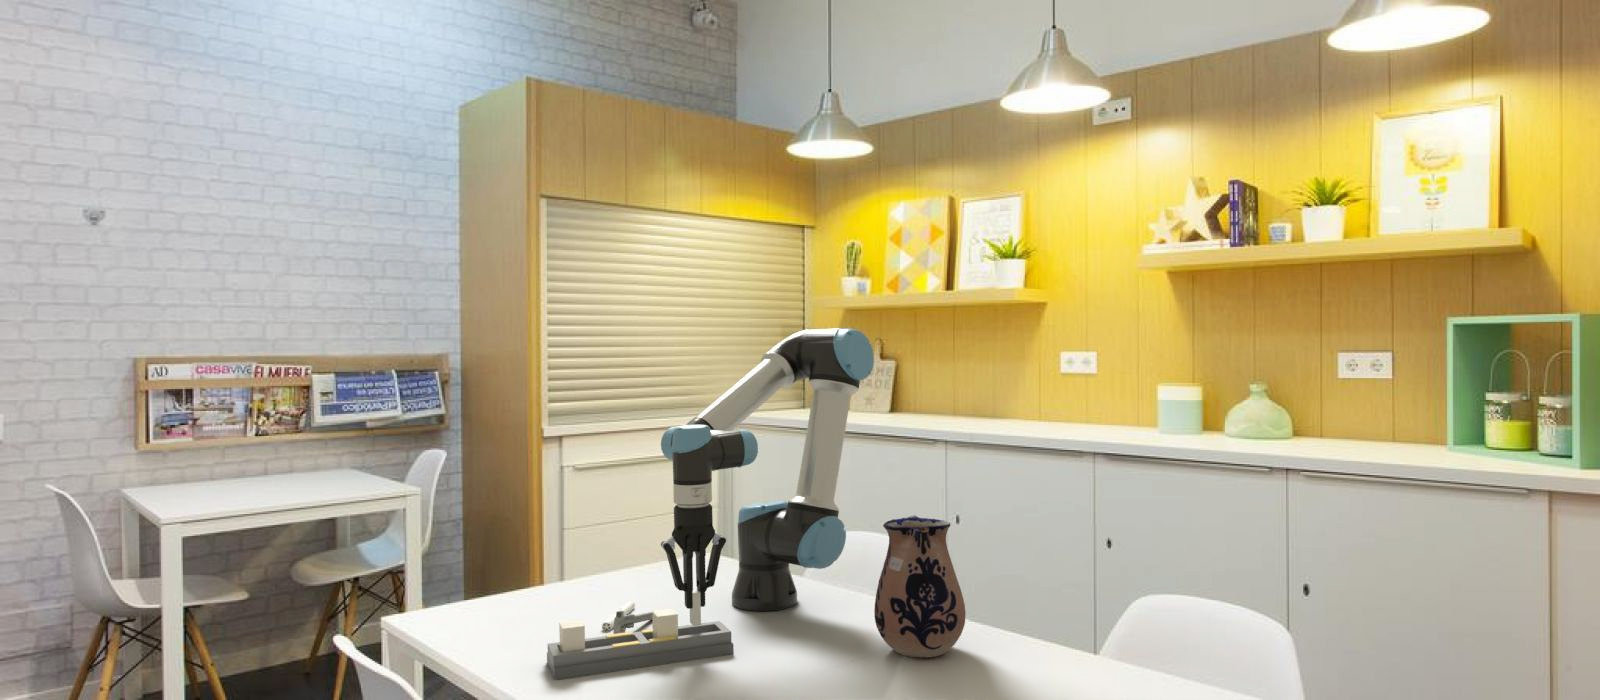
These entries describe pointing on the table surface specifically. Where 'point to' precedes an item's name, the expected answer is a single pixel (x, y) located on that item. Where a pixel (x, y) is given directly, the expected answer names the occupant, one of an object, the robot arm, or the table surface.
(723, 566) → the table surface
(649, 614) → the caliper
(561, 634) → the tab
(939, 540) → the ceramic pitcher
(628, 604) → the marker
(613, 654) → the switch board
